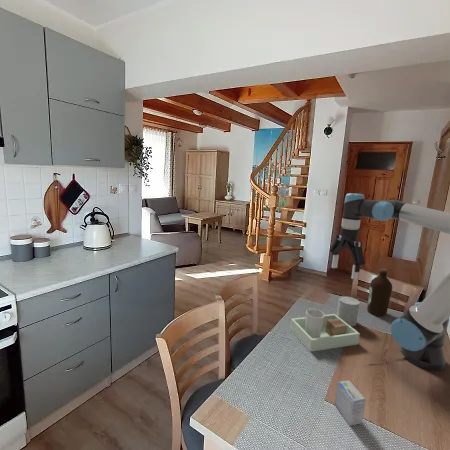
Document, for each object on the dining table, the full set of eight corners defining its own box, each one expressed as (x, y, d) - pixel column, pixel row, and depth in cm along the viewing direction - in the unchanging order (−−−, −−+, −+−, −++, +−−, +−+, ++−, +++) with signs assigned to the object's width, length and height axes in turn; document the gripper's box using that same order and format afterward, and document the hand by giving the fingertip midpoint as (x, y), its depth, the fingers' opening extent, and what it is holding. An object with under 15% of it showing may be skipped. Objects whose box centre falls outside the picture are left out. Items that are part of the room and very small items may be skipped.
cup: (322, 335, 126) (325, 311, 123) (320, 345, 118) (324, 319, 116) (304, 330, 129) (307, 307, 127) (301, 339, 122) (304, 314, 119)
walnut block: (344, 337, 125) (346, 325, 124) (333, 339, 123) (335, 327, 122) (336, 330, 131) (337, 318, 130) (325, 331, 129) (326, 320, 128)
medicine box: (362, 424, 83) (366, 399, 81) (349, 426, 82) (353, 401, 80) (345, 402, 90) (349, 379, 88) (333, 404, 89) (337, 381, 87)
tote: (357, 345, 121) (359, 333, 120) (310, 353, 114) (311, 340, 113) (333, 324, 137) (334, 313, 136) (289, 330, 130) (291, 318, 129)
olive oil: (387, 311, 154) (395, 268, 149) (387, 319, 145) (395, 274, 140) (366, 305, 159) (373, 264, 154) (365, 313, 150) (372, 269, 145)
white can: (358, 329, 134) (362, 306, 132) (337, 326, 136) (341, 303, 133) (353, 319, 143) (356, 297, 141) (334, 316, 145) (337, 294, 143)
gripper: (379, 234, 113) (371, 283, 117) (338, 222, 136) (333, 263, 140) (364, 234, 111) (356, 284, 115) (325, 222, 134) (320, 264, 138)
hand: (343, 272), depth 128 cm, fingers open, 13 cm apart
